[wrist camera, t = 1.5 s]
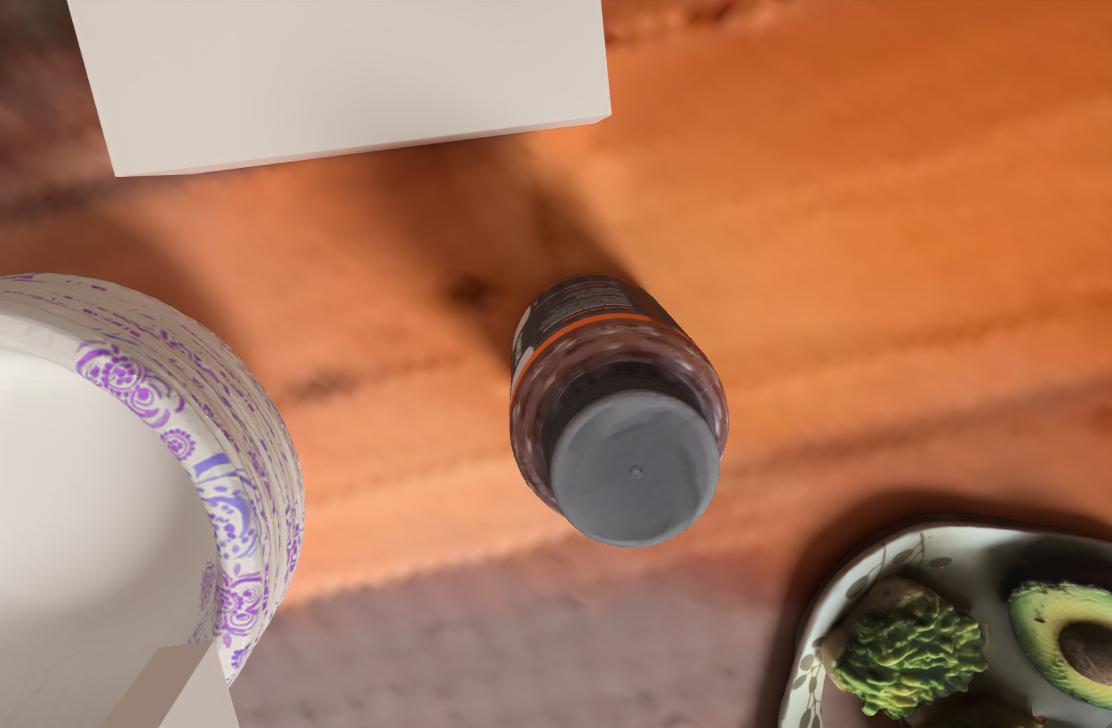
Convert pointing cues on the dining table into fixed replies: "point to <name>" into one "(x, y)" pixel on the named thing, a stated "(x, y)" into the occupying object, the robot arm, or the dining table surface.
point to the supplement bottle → (615, 412)
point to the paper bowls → (129, 496)
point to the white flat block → (331, 76)
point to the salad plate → (962, 627)
